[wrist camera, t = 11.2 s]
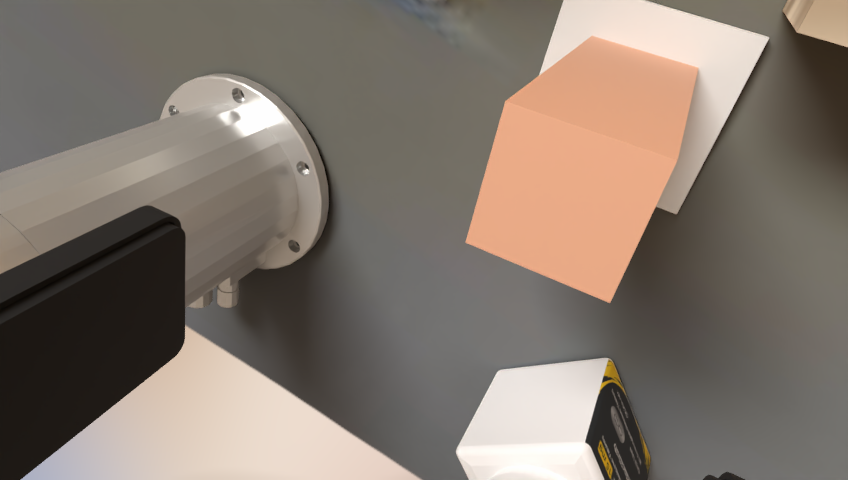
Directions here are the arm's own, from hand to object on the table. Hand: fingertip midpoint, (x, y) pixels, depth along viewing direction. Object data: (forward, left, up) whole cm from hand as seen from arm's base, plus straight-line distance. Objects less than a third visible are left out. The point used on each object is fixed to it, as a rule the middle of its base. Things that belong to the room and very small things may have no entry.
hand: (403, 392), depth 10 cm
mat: (0, -1, -21) cm, 20 cm away
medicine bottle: (-18, -5, -21) cm, 28 cm away
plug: (0, -1, -20) cm, 20 cm away
